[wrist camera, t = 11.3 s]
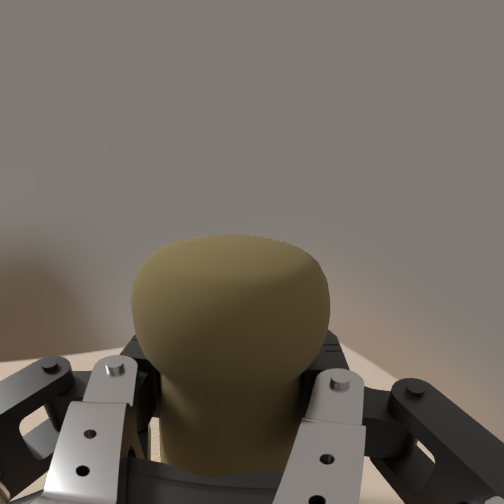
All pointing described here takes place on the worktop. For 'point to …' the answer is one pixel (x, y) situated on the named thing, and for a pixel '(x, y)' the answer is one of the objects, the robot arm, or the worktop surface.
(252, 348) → the pepper shaker
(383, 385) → the worktop surface
